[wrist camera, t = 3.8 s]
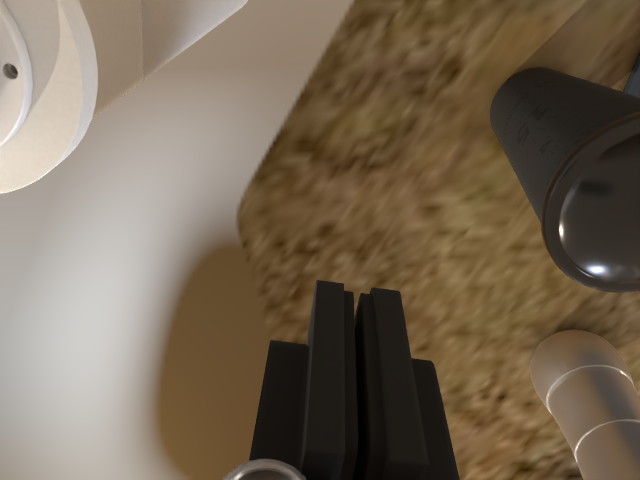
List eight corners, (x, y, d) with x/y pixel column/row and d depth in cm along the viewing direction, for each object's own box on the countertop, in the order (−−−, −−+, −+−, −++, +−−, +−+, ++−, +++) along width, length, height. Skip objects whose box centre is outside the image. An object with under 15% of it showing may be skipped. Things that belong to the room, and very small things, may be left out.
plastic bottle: (570, 391, 43) (728, 698, 26) (503, 361, 41) (623, 664, 24) (627, 339, 40) (850, 644, 23) (558, 304, 39) (739, 603, 21)
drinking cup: (621, 55, 30) (1020, 218, 12) (564, 177, 33) (810, 432, 16) (492, 28, 29) (723, 158, 12) (449, 155, 33) (577, 395, 16)
